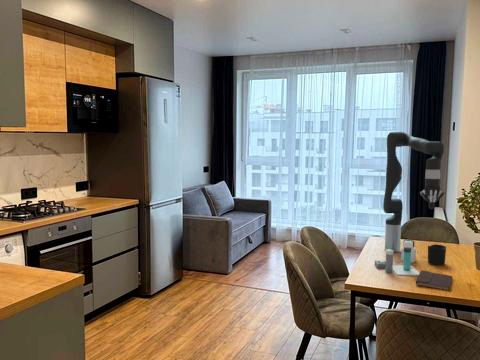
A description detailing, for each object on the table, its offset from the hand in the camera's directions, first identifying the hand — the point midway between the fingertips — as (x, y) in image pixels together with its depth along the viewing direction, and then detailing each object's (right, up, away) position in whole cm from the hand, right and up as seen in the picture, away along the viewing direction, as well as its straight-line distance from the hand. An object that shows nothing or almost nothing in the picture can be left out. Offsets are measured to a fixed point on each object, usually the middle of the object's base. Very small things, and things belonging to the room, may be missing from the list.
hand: (431, 208), depth 236 cm
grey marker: (-27, -33, -10) cm, 44 cm away
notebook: (-11, -34, -26) cm, 44 cm away
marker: (-17, -32, -8) cm, 37 cm away
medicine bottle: (-8, -31, +13) cm, 35 cm away
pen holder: (+5, -32, +6) cm, 33 cm away
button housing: (-27, -32, 0) cm, 42 cm away
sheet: (-18, -33, -8) cm, 38 cm away
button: (-27, -32, 0) cm, 42 cm away
